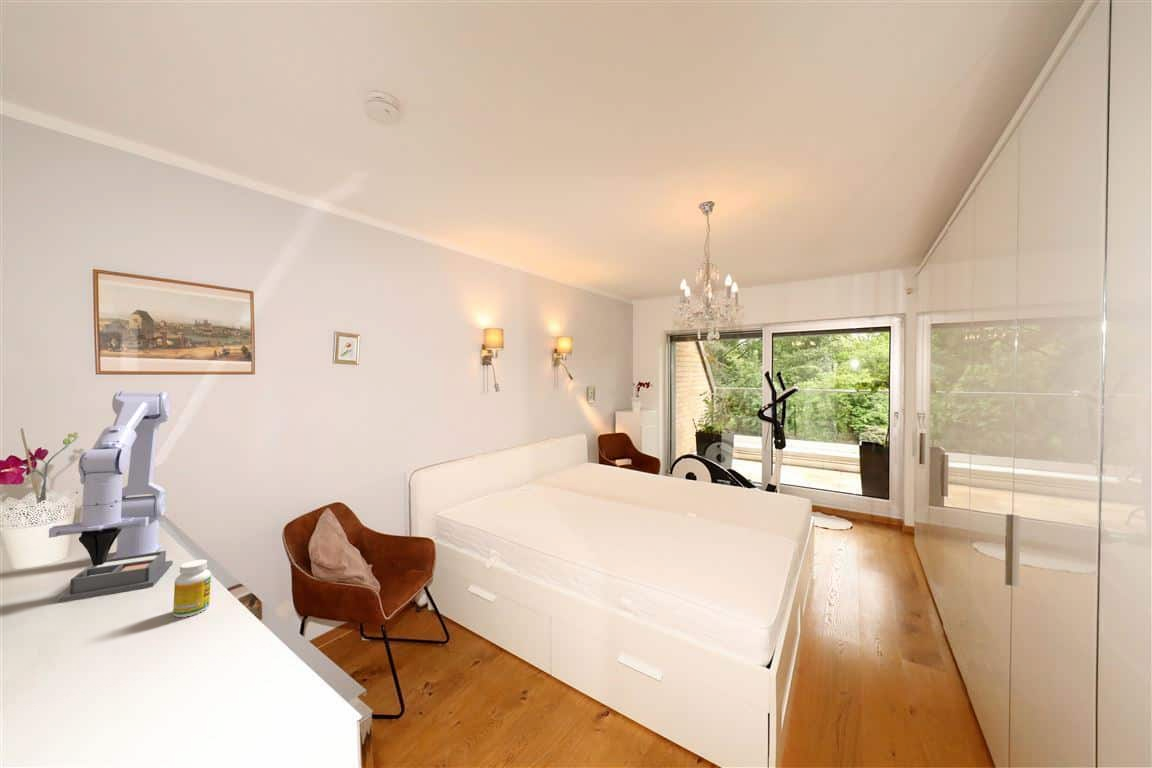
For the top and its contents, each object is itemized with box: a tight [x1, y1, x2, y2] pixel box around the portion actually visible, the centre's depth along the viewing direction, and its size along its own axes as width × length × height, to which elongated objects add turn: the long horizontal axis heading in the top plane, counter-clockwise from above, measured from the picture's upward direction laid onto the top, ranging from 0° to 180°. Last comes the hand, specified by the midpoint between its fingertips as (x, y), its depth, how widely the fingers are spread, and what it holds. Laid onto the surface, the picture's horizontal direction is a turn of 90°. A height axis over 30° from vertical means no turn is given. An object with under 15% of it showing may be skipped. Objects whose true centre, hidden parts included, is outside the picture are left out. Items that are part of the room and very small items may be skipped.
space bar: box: [97, 555, 158, 567], centre depth 96 cm, size 4×10×2 cm, turn 122°
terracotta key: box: [122, 563, 150, 571], centre depth 93 cm, size 4×4×2 cm
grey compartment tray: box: [58, 550, 173, 603], centre depth 93 cm, size 14×14×4 cm
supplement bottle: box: [172, 559, 212, 618], centre depth 82 cm, size 5×5×10 cm
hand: (99, 563), depth 90 cm, fingers closed
